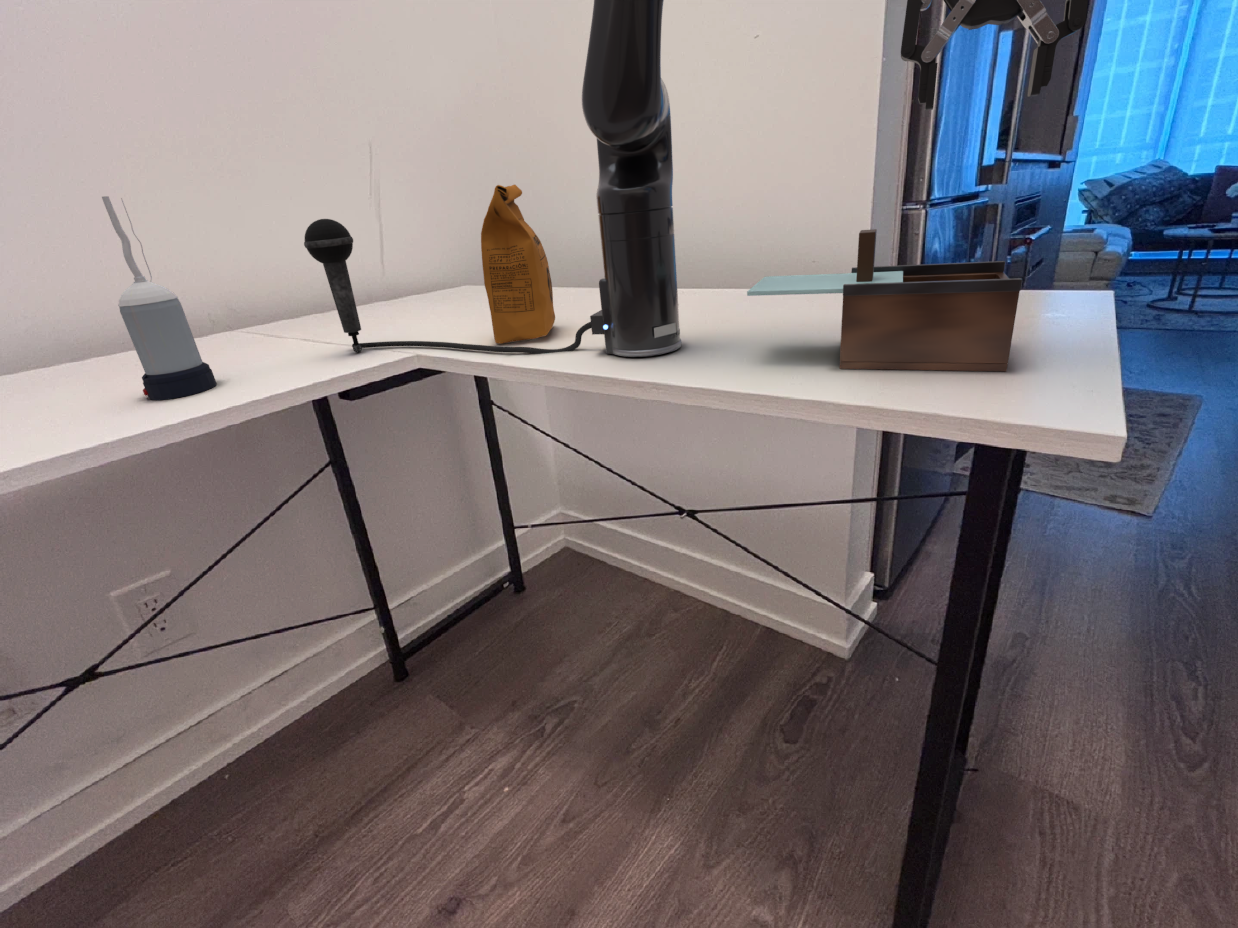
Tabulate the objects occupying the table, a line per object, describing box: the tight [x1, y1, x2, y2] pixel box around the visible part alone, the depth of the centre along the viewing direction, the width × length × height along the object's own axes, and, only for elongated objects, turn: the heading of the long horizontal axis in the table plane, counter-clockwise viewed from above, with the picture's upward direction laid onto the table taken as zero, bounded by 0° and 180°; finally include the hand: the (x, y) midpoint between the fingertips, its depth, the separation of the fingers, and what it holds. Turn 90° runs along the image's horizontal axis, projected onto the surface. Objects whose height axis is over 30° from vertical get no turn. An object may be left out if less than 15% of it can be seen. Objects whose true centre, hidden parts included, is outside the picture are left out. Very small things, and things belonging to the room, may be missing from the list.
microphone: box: [303, 218, 363, 354], centre depth 96 cm, size 7×7×20 cm
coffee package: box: [480, 184, 556, 345], centre depth 95 cm, size 10×12×22 cm
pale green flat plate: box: [746, 228, 903, 297], centre depth 69 cm, size 16×10×6 cm
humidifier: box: [101, 195, 218, 401], centre depth 82 cm, size 8×8×25 cm
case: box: [839, 260, 1023, 372], centre depth 67 cm, size 16×12×9 cm
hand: (979, 102), depth 58 cm, fingers open, 8 cm apart
